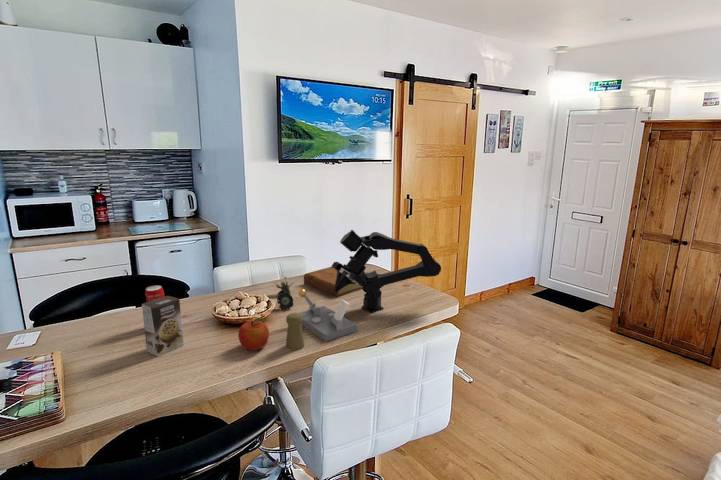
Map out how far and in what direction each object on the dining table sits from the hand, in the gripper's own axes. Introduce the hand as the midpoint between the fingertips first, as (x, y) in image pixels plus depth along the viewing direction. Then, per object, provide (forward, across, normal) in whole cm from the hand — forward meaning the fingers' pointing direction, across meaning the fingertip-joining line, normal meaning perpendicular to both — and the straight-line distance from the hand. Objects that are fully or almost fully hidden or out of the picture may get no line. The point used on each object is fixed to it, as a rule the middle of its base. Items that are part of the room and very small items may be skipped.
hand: (334, 291), depth 155 cm
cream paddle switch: (+9, -14, +1) cm, 17 cm away
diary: (-3, +30, -18) cm, 35 cm away
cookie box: (+48, +2, +36) cm, 60 cm away
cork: (+22, -16, +10) cm, 29 cm away
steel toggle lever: (+10, 0, +1) cm, 10 cm away
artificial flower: (+15, +25, +1) cm, 29 cm away
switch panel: (+12, -7, -1) cm, 14 cm away
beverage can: (+48, +20, +36) cm, 64 cm away
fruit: (+31, -10, +18) cm, 37 cm away
